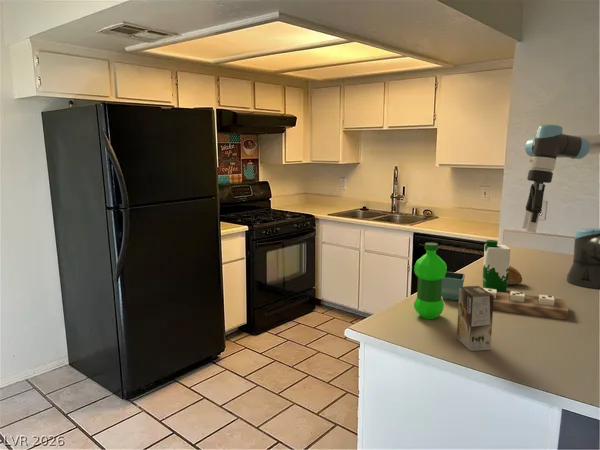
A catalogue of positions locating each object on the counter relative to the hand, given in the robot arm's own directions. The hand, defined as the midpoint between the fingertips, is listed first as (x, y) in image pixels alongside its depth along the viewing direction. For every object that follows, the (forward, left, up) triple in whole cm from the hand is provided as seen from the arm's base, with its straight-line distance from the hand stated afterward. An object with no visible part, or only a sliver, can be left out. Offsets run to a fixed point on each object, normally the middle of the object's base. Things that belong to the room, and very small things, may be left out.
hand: (528, 230), depth 154 cm
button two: (-3, +8, -26) cm, 27 cm away
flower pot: (+23, -9, -27) cm, 37 cm away
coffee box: (+33, +30, -27) cm, 53 cm away
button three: (+4, +3, -26) cm, 26 cm away
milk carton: (+2, -16, -27) cm, 31 cm away
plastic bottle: (+38, +8, -27) cm, 48 cm away
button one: (+12, -1, -26) cm, 28 cm away
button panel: (+4, +3, -27) cm, 28 cm away
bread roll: (-6, -25, -27) cm, 37 cm away
